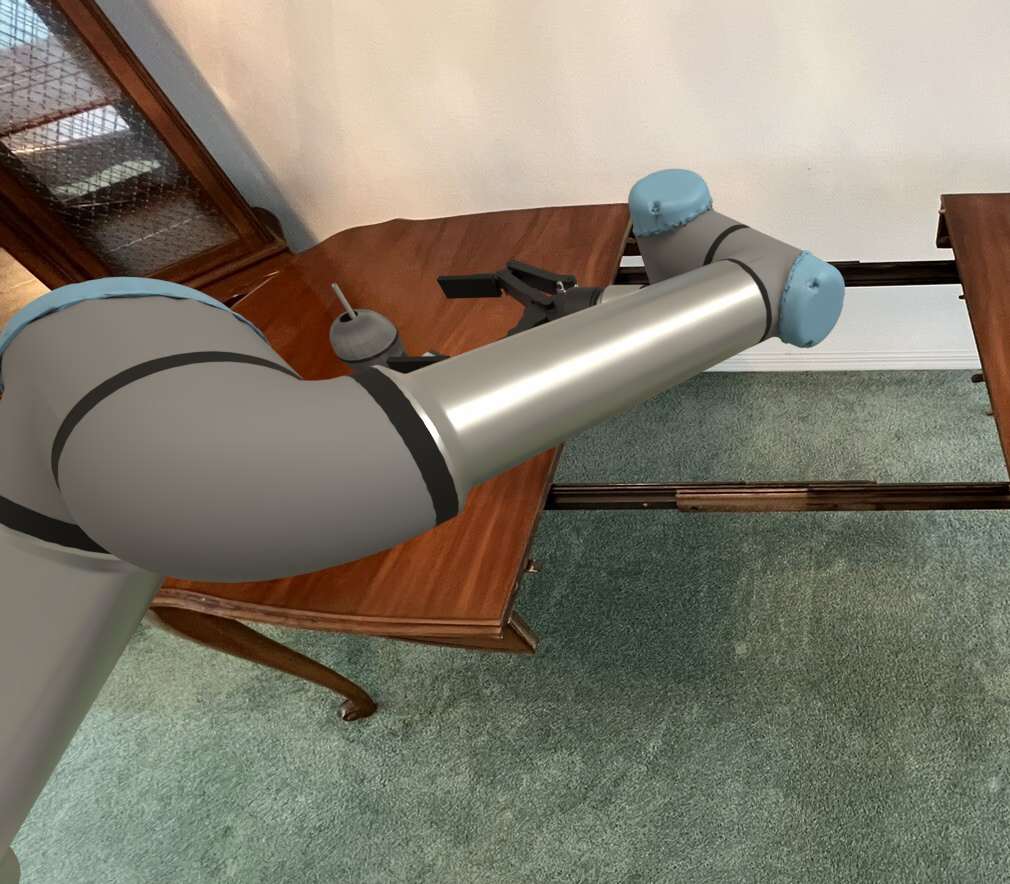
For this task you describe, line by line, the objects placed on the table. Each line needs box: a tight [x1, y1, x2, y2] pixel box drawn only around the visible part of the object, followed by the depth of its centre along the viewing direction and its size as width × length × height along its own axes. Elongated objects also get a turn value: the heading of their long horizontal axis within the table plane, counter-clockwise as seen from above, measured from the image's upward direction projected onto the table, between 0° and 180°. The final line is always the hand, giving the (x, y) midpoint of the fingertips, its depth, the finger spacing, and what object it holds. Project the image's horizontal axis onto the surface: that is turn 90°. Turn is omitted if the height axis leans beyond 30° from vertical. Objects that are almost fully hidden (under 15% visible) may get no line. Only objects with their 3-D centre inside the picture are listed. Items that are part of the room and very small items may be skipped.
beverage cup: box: [329, 283, 409, 372], centre depth 81 cm, size 7×7×20 cm
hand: (419, 325), depth 74 cm, fingers open, 13 cm apart
